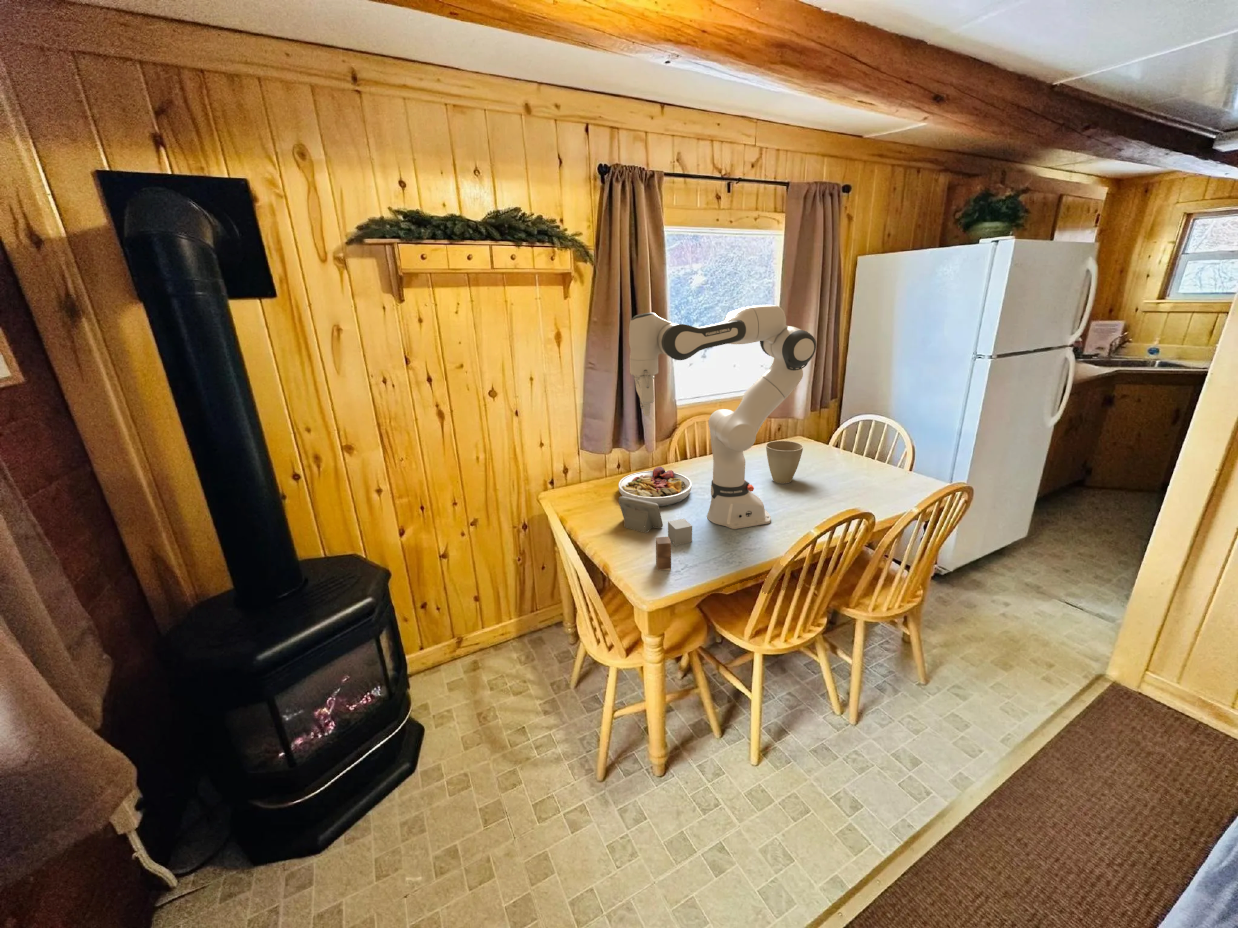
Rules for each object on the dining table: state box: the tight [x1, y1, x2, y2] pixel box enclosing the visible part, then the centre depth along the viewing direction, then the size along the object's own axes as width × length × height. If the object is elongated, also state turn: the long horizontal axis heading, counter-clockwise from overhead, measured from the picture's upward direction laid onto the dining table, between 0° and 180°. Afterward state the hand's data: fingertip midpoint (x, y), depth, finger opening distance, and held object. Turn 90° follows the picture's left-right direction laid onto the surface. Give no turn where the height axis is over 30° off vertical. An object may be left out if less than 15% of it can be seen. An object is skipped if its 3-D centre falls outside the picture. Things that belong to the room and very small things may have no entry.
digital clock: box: [618, 495, 664, 534], centre depth 169 cm, size 16×9×11 cm, turn 47°
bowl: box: [618, 466, 692, 507], centre depth 197 cm, size 30×30×8 cm
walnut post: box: [655, 536, 672, 571], centre depth 143 cm, size 4×4×9 cm
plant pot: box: [765, 440, 804, 484], centre depth 203 cm, size 15×15×16 cm
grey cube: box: [667, 518, 693, 546], centre depth 159 cm, size 6×6×6 cm
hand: (644, 411), depth 152 cm, fingers open, 8 cm apart
